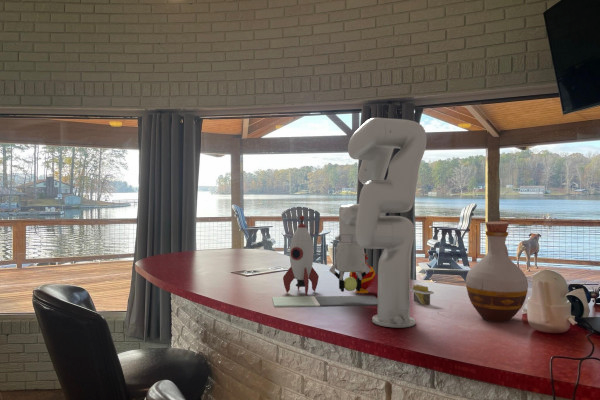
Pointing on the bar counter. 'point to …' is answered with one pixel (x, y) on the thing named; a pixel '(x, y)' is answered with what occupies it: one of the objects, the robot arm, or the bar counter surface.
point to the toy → (301, 260)
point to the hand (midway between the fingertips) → (350, 290)
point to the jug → (496, 279)
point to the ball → (350, 284)
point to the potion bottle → (365, 278)
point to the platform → (421, 294)
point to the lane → (325, 301)
